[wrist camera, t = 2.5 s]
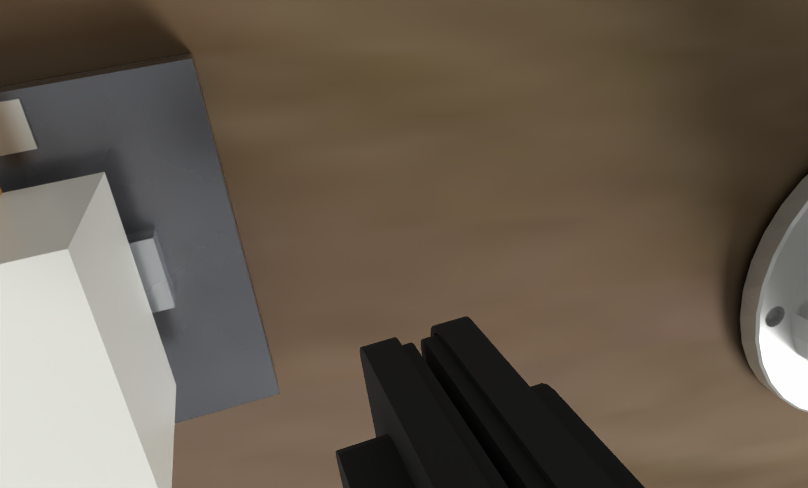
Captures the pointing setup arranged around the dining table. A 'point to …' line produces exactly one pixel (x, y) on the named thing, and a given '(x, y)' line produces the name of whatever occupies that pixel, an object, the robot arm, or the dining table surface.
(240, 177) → the dining table surface
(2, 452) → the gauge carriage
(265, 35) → the dining table surface
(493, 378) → the robot arm
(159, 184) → the gauge bench
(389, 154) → the dining table surface
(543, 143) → the dining table surface
